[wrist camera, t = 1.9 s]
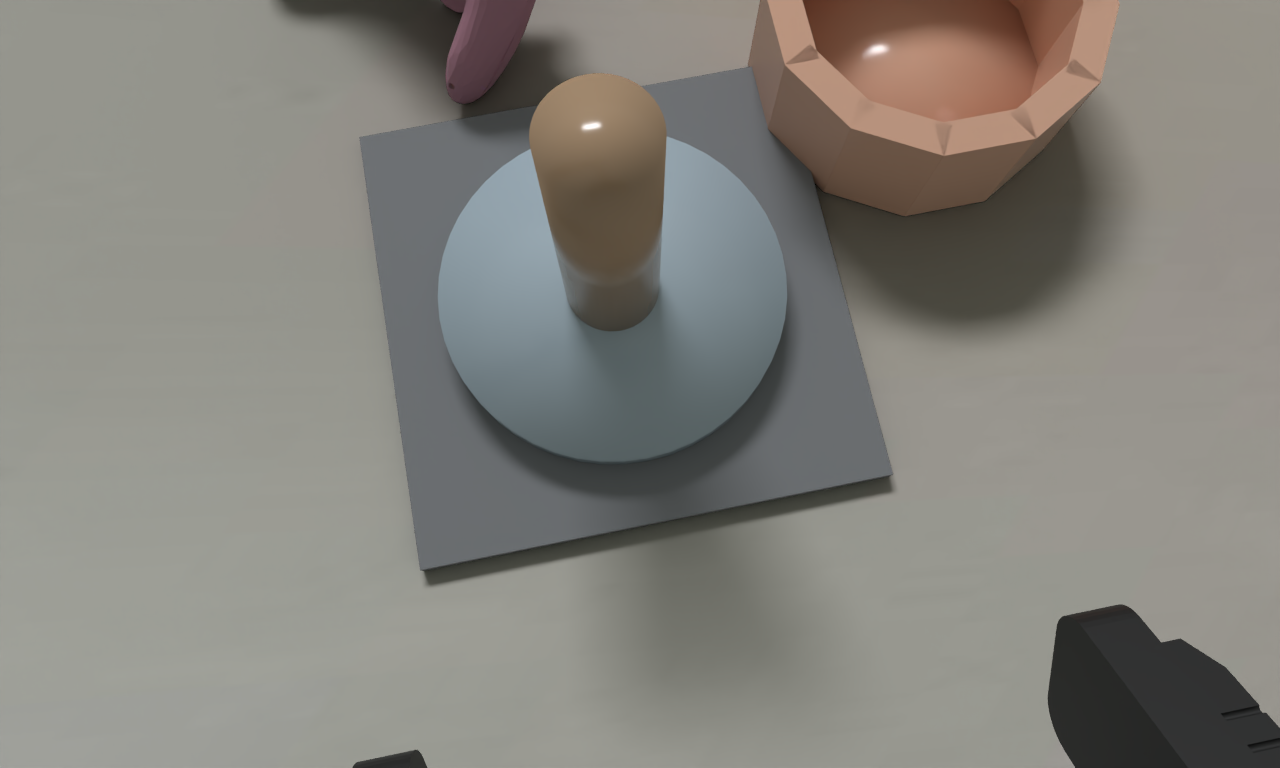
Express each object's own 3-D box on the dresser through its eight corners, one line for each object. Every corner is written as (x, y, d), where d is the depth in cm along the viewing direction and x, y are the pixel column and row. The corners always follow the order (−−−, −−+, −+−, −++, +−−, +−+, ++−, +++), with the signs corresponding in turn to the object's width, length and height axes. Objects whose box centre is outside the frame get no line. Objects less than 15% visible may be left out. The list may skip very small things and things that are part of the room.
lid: (473, 496, 27) (377, 430, 17) (422, 177, 30) (313, -37, 20) (818, 427, 28) (913, 324, 18) (739, 118, 30) (785, -120, 20)
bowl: (792, 237, 29) (815, 180, 26) (723, -29, 32) (735, -118, 28) (1094, 180, 30) (1161, 115, 26) (1003, -77, 32) (1053, -172, 28)
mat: (423, 570, 27) (420, 569, 27) (363, 143, 30) (359, 137, 30) (889, 476, 28) (892, 474, 27) (779, 67, 31) (781, 61, 31)
